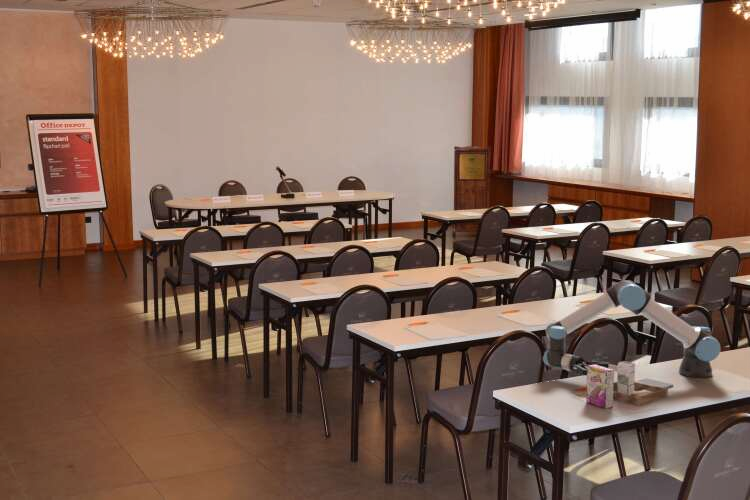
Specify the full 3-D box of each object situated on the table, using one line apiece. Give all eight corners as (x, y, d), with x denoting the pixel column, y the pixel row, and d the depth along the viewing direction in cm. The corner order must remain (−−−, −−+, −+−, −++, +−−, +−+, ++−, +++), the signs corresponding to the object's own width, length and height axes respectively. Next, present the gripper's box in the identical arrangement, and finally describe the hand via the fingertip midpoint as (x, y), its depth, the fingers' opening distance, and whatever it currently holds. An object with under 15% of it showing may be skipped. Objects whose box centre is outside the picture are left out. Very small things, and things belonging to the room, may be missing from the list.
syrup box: (634, 394, 405) (635, 362, 403) (628, 397, 400) (629, 365, 399) (622, 392, 409) (624, 360, 407) (616, 394, 404) (617, 362, 402)
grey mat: (629, 385, 419) (629, 383, 419) (646, 380, 428) (646, 378, 428) (656, 392, 409) (656, 389, 408) (673, 386, 418) (673, 384, 418)
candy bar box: (585, 402, 392) (586, 365, 390) (593, 400, 395) (595, 363, 393) (605, 409, 383) (606, 371, 381) (613, 407, 385) (614, 369, 383)
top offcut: (630, 396, 397) (630, 393, 397) (644, 392, 403) (644, 389, 403) (640, 398, 393) (640, 395, 393) (653, 394, 399) (653, 392, 399)
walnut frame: (595, 395, 402) (596, 388, 402) (625, 386, 418) (625, 378, 417) (638, 406, 387) (639, 398, 386) (667, 396, 402) (668, 388, 401)
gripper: (589, 366, 433) (627, 375, 417) (556, 375, 416) (595, 385, 400) (589, 351, 432) (628, 359, 416) (557, 359, 415) (596, 368, 400)
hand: (612, 372), depth 408 cm, fingers open, 13 cm apart
